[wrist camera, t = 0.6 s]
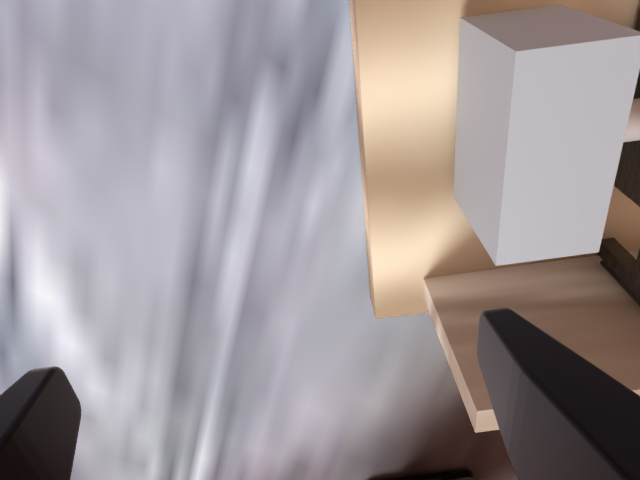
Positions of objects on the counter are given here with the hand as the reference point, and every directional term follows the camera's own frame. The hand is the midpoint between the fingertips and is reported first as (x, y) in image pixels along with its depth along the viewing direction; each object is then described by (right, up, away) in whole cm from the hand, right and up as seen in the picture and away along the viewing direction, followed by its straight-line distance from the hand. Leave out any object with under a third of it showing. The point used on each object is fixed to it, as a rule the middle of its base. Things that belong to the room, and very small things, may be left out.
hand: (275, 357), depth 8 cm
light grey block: (+8, +6, +9) cm, 13 cm away
